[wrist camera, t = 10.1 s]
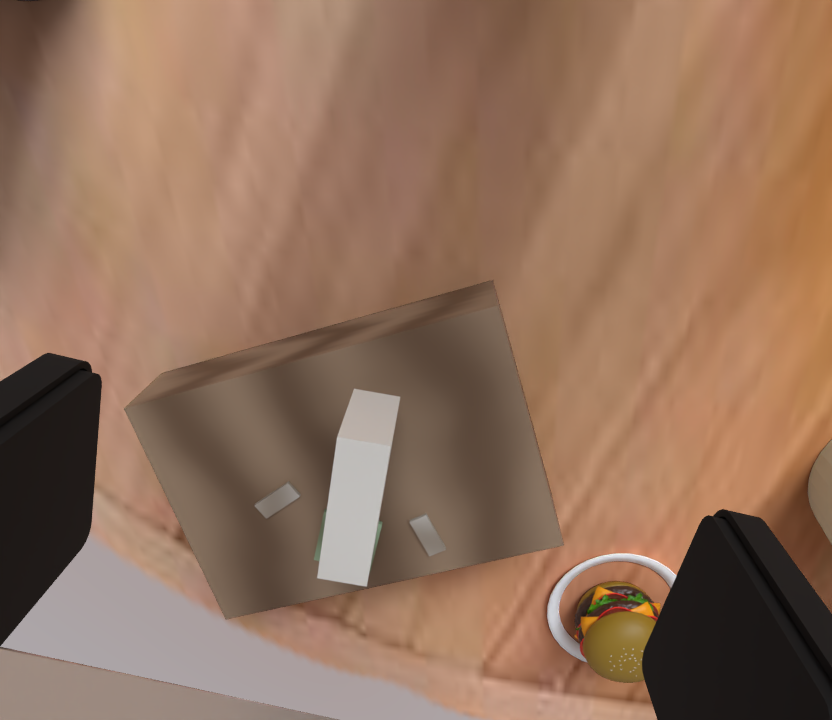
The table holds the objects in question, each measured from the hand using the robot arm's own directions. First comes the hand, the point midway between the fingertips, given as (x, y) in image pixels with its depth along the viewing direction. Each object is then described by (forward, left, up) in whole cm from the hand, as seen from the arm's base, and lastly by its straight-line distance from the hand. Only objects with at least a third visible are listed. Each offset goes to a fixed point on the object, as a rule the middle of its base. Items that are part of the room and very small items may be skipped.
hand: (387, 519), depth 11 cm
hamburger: (-4, +27, -29) cm, 40 cm away
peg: (+7, +10, -23) cm, 26 cm away
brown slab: (+8, +11, -28) cm, 31 cm away
